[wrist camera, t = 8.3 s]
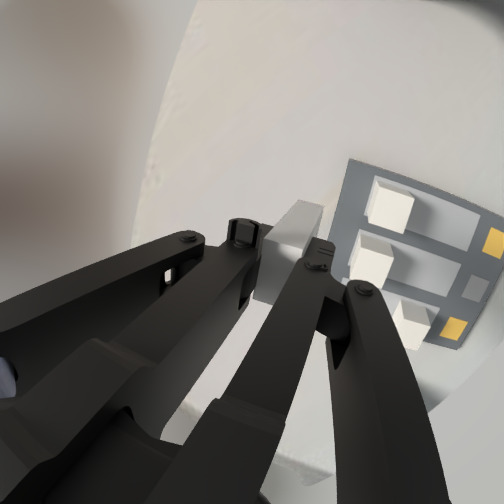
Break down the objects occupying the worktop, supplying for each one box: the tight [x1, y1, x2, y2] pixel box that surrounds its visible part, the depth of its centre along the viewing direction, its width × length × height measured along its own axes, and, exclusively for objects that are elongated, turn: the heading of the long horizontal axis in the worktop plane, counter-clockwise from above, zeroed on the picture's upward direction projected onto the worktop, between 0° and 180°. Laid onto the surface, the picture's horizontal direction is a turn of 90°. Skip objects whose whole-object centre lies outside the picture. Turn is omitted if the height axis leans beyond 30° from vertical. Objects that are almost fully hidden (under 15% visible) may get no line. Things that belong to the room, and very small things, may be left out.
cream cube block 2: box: [349, 234, 394, 289], centre depth 29 cm, size 4×4×4 cm
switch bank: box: [327, 158, 504, 350], centre depth 30 cm, size 18×22×1 cm
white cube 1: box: [367, 180, 414, 234], centre depth 26 cm, size 4×4×4 cm
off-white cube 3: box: [392, 300, 431, 351], centre depth 30 cm, size 4×4×4 cm
